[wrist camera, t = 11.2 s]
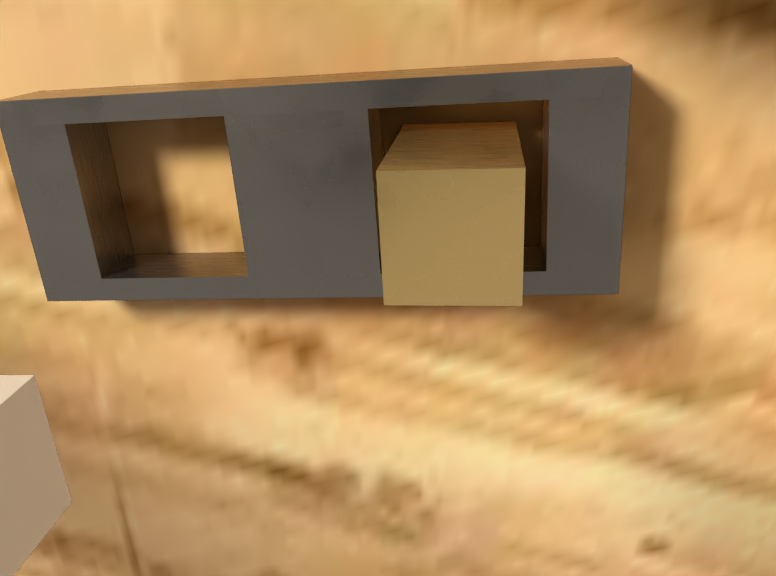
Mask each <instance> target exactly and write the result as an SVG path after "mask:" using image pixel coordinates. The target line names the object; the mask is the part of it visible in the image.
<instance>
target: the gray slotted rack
mask: <svg viewBox="0 0 776 576" xmlns="http://www.w3.org/2000/svg"><path fill="white" fill-rule="evenodd" d="M631 80H632V65H631V64H629V63H627V62H625V61H623V60H621V59H619V58H601V59H584V60H567V61H550V62H533V63H516V64H499V65H482V66H465V67H447V68H430V69H413V70H396V71H379V72H362V73H345V74H328V75H311V76H294V77H276V78H259V79H242V80H225V81H208V82H191V83H174V84H157V85H140V86H123V87H105V88H88V89H71V90H54V91H38V92H33V93H29V94H24V95H20V96H16V97H11V98H7V99H2V100H0V128H1V132H2V136H3V139H4V143H5V147H6V150H7V154H8V158H9V161H10V165H11V169H12V172H13V176H14V180H15V183H16V187H17V190H18V194H19V198H20V201H21V205H22V209H23V212H24V216H25V220H26V223H27V227H28V231H29V234H30V238H31V242H32V245H33V249H34V252H35V256H36V260H37V263H38V267H39V271H40V274H41V278H42V282H43V285H44V289H45V293H46V296H47V300H48V301H92V300H177V299H261V298H345V297H383V282H382V265H381V248H380V231H379V214H378V197H377V180H376V170H377V169H378V167H379V165H380V164H381V162H382V160H383V146H382V131H381V117H380V108H393V107H412V106H432V105H452V104H471V103H491V102H510V101H530V100H543V140H542V207H541V246H524V258H523V295H597V294H619V278H620V261H621V245H622V228H623V212H624V195H625V179H626V162H627V146H628V129H629V113H630V96H631ZM216 116H224V121H225V127H226V134H227V140H228V147H229V153H230V160H231V166H232V173H233V179H234V186H235V192H236V199H237V205H238V212H239V218H240V225H241V231H242V238H243V244H244V251H245V252H229V253H183V254H137V255H134V254H133V249H132V245H131V240H130V235H129V231H128V226H127V222H126V217H125V212H124V208H123V203H122V199H121V194H120V189H119V185H118V180H117V176H116V171H115V167H114V162H113V157H112V153H111V148H110V144H109V139H108V134H107V130H106V125H105V122H118V121H137V120H157V119H176V118H196V117H216Z"/></svg>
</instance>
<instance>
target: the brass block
mask: <svg viewBox="0 0 776 576" xmlns="http://www.w3.org/2000/svg"><path fill="white" fill-rule="evenodd" d="M525 174H526V167H525V163H524V158H523V153H522V149H521V144H520V139H519V134H518V130H517V125H516V121H511V122H478V123H444V124H411V125H404V126H403V127H402V129H401V131H400V132H399V134H398V135H397V137H396V139H395V140H394V142H393V144H392V145H391V147H390V149H389V150H388V152H387V154H386V155H385V157H384V159H383V160H382V162H381V164H380V165H379V167H378V169H377V170H376V180H377V197H378V214H379V231H380V248H381V265H382V282H383V299H384V305H422V306H522V301H523V258H524V216H525Z"/></svg>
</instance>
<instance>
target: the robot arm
mask: <svg viewBox="0 0 776 576" xmlns="http://www.w3.org/2000/svg"><path fill="white" fill-rule="evenodd" d="M71 502H72V500H71V497H70V494H69V490H68V487H67V484H66V480H65V477H64V474H63V470H62V467H61V463H60V460H59V457H58V453H57V450H56V447H55V443H54V440H53V436H52V433H51V430H50V426H49V423H48V420H47V416H46V413H45V410H44V406H43V403H42V399H41V396H40V393H39V389H38V386H37V383H36V379H35V376H34V375H0V576H14V575H15V573H16V572H17V571H18V570H19V568H20V567H21V566H22V565H23V563H24V562H25V561H26V559H27V558H28V557H29V556H30V554H31V553H32V552H33V551H34V549H35V548H36V547H37V546H38V544H39V543H40V542H41V540H42V539H43V538H44V537H45V535H46V534H47V533H48V532H49V530H50V529H51V528H52V527H53V525H54V524H55V523H56V521H57V520H58V519H59V518H60V516H61V515H62V514H63V513H64V511H65V510H66V509H67V508H68V506H69V505H70V504H71Z"/></svg>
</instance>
